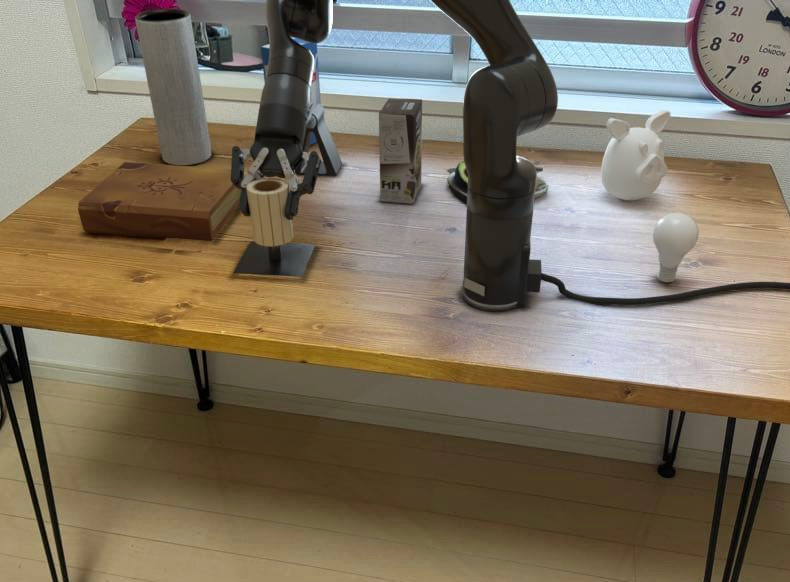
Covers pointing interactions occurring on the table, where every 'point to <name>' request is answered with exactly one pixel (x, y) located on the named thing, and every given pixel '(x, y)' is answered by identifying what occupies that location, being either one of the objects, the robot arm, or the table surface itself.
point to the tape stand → (275, 259)
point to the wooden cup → (269, 211)
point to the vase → (174, 85)
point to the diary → (161, 202)
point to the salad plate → (460, 182)
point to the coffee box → (400, 150)
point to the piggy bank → (634, 158)
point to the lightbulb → (673, 242)
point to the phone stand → (320, 144)
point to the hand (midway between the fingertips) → (267, 216)
